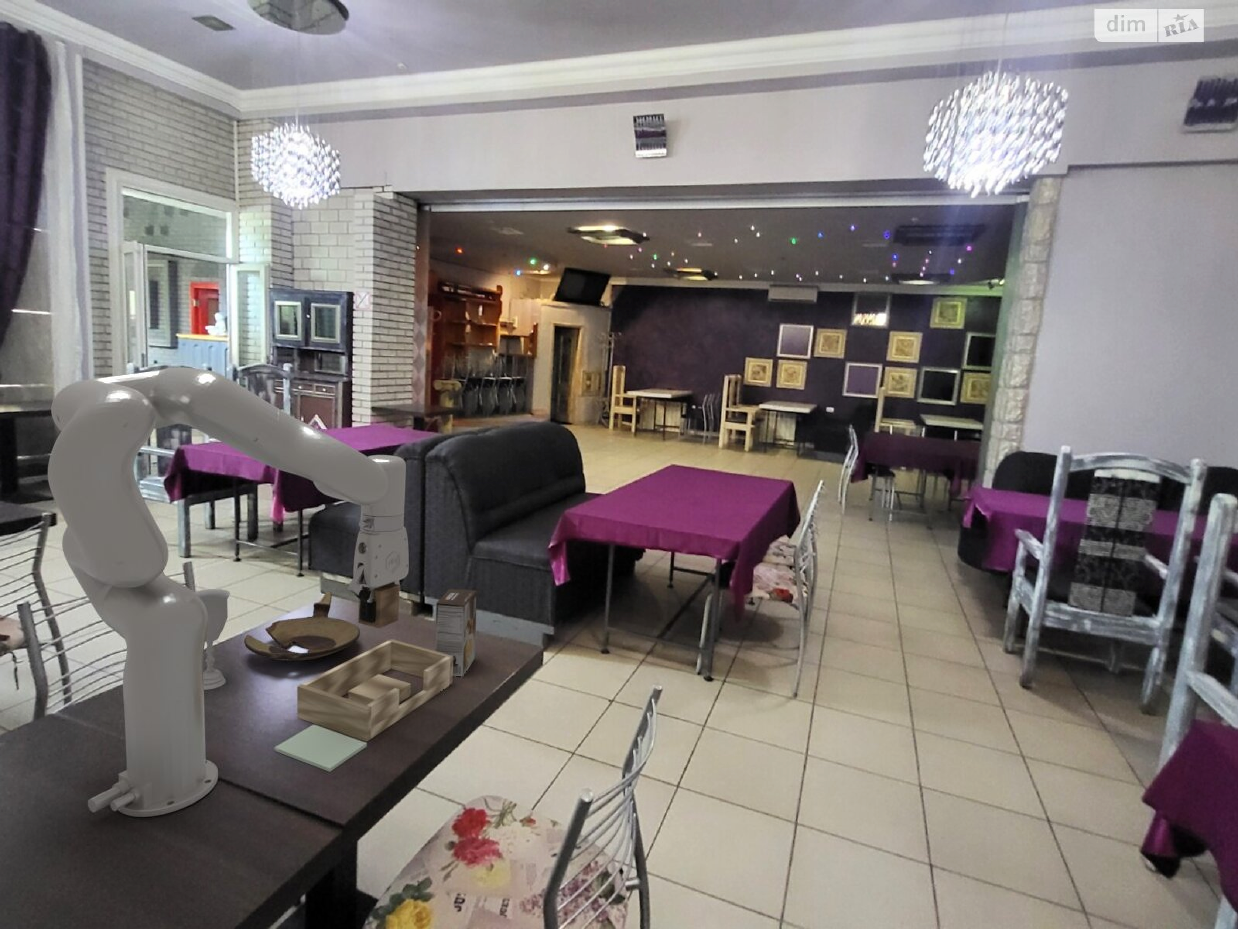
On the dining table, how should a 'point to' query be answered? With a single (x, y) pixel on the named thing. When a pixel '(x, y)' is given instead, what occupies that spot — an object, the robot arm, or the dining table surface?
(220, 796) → the dining table surface
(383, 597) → the block
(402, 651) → the crate
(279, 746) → the mat
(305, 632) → the broken brown bowl
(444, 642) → the coffee box
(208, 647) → the chalice
